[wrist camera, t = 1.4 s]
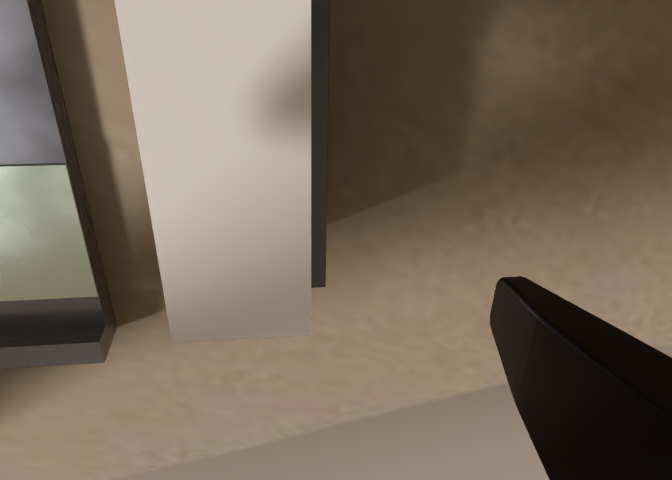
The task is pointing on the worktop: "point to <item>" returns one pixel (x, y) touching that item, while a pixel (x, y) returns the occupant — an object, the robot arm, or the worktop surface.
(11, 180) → the rail
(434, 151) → the worktop surface
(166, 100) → the white rectangular prism
